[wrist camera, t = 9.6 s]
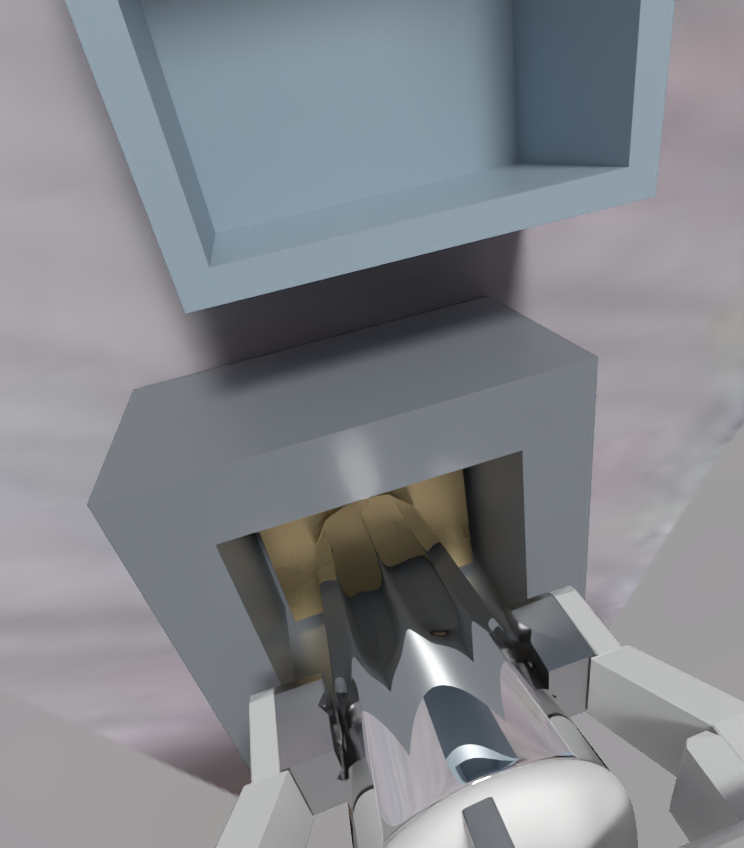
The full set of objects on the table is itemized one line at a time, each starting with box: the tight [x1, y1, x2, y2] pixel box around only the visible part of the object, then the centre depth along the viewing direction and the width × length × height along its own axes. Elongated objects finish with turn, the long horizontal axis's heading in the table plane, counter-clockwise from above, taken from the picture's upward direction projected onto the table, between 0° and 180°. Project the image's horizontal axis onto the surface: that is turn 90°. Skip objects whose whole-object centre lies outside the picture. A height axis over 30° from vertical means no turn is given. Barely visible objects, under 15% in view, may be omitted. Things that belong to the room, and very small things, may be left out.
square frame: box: [87, 296, 598, 771], centre depth 14 cm, size 10×10×6 cm
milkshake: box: [315, 494, 638, 848], centre depth 10 cm, size 5×5×10 cm
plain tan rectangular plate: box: [259, 469, 473, 622], centre depth 15 cm, size 6×6×1 cm
